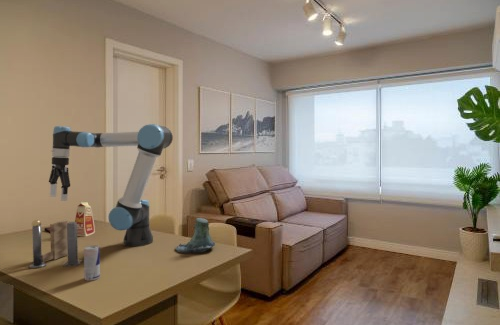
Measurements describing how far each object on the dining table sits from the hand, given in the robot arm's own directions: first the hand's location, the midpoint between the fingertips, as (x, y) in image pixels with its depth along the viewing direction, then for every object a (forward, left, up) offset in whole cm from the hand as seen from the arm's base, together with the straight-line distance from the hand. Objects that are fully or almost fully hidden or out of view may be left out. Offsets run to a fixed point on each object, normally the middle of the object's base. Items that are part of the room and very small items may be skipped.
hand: (58, 198), depth 169 cm
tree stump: (-71, 0, -26) cm, 75 cm away
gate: (-10, +18, -25) cm, 33 cm away
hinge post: (-8, +27, -25) cm, 38 cm away
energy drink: (-39, +40, -25) cm, 62 cm away
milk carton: (+3, -29, -26) cm, 38 cm away
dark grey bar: (-22, +24, -25) cm, 41 cm away
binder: (+21, -41, -26) cm, 53 cm away
